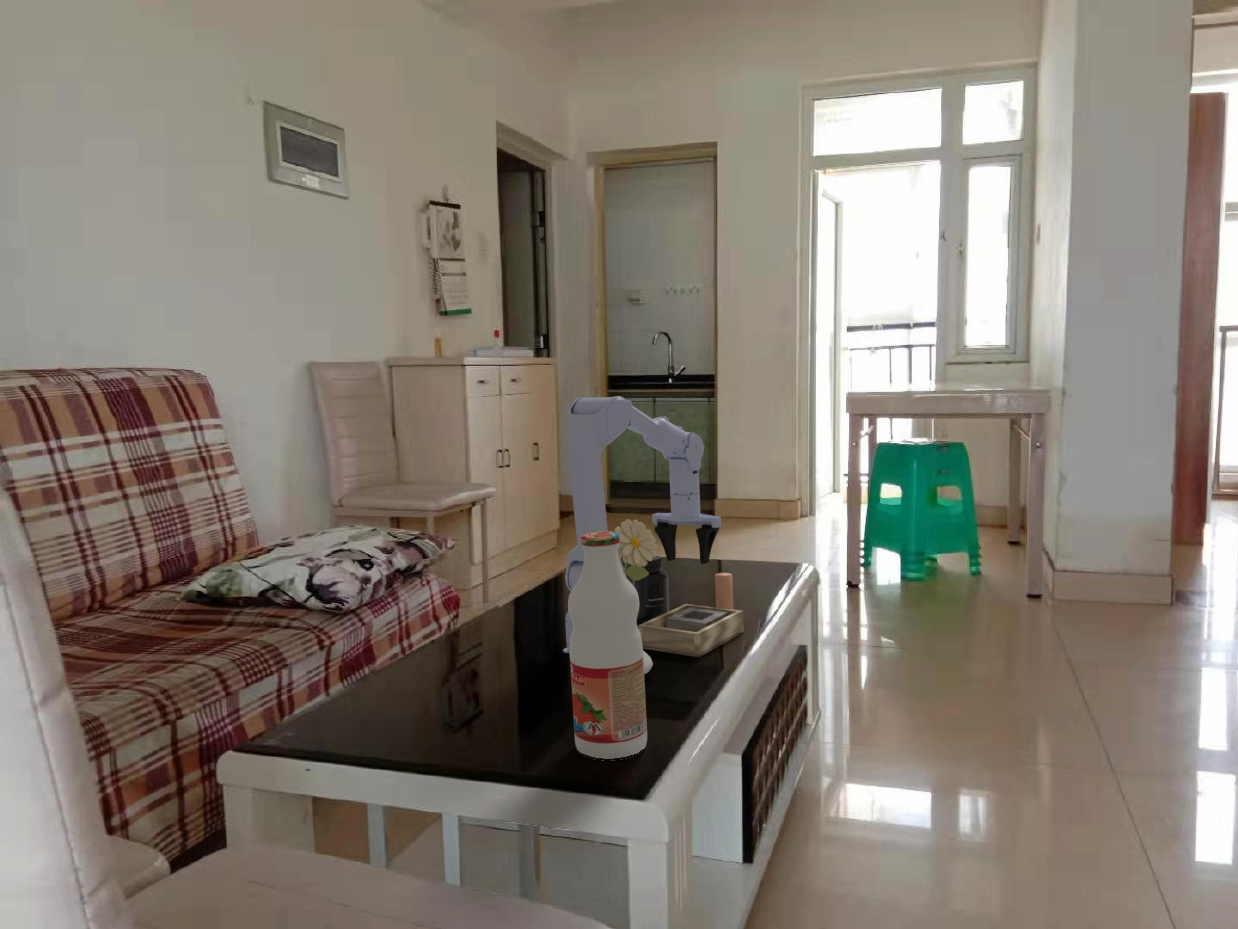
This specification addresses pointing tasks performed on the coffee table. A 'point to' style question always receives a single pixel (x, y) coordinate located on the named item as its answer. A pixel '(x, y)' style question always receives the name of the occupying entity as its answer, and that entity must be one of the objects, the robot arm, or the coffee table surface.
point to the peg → (724, 590)
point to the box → (691, 629)
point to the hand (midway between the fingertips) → (687, 561)
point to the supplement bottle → (652, 591)
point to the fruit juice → (606, 655)
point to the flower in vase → (636, 557)
